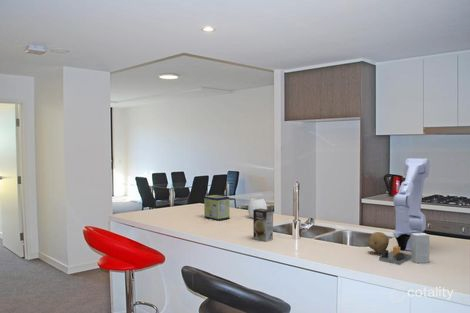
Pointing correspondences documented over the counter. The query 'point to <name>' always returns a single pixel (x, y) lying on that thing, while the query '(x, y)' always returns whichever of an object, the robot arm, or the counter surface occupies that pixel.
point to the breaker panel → (394, 257)
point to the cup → (256, 205)
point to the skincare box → (420, 247)
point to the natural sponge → (378, 242)
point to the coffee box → (263, 224)
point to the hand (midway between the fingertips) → (402, 250)
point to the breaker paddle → (396, 250)
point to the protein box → (216, 207)
